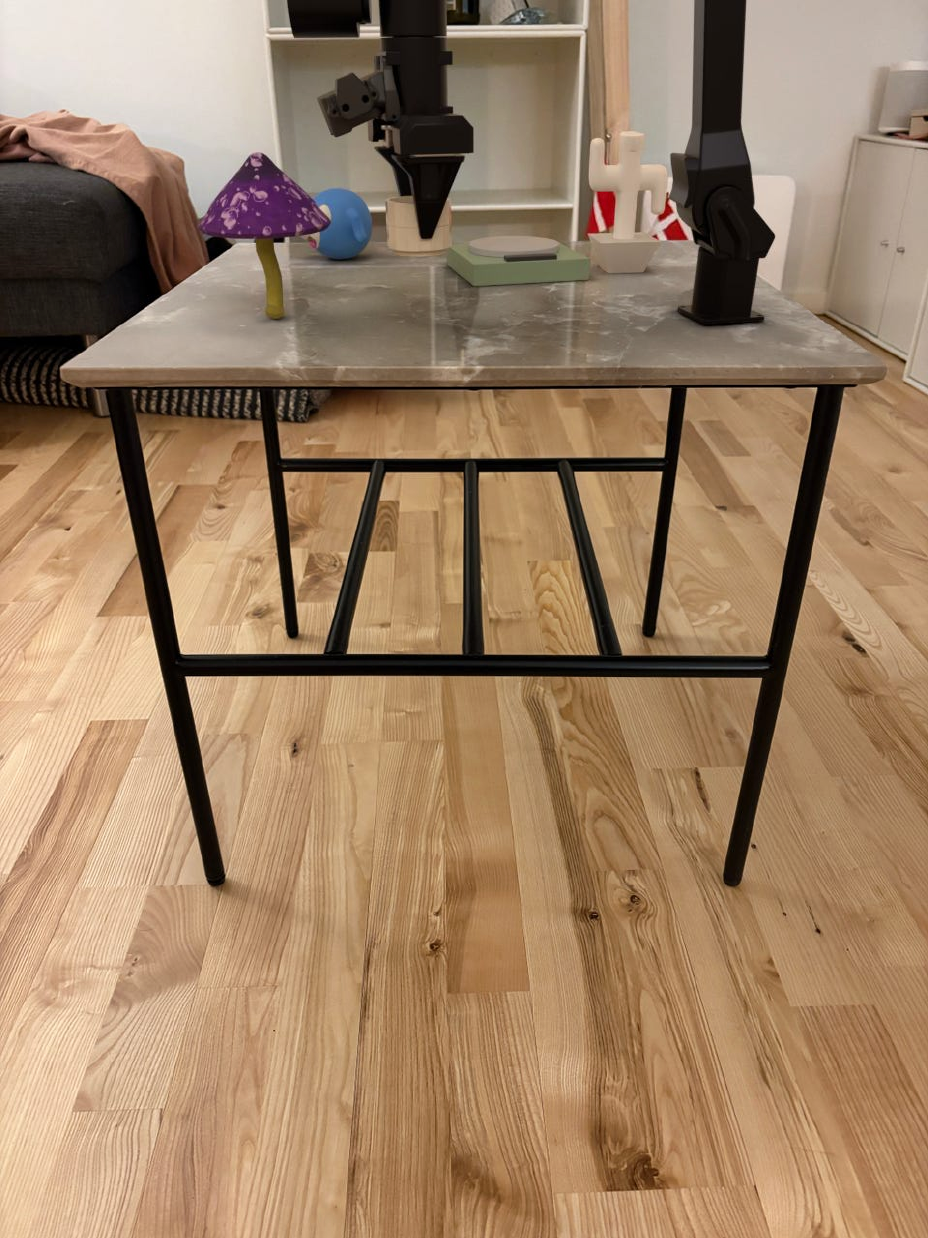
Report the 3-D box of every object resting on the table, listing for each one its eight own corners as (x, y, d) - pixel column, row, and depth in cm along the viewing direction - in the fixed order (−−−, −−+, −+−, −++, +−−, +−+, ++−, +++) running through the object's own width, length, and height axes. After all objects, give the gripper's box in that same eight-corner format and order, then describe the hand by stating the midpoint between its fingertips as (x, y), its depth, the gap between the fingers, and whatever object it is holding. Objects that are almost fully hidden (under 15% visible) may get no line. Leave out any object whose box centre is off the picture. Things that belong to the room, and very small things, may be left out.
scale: (589, 279, 108) (591, 250, 106) (473, 286, 105) (473, 256, 103) (551, 259, 120) (552, 232, 118) (446, 264, 117) (446, 237, 115)
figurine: (667, 273, 111) (681, 132, 103) (590, 276, 110) (598, 134, 102) (650, 262, 117) (662, 129, 109) (577, 264, 116) (584, 130, 108)
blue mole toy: (266, 260, 120) (258, 189, 116) (341, 249, 127) (336, 182, 123) (317, 272, 113) (311, 197, 108) (394, 260, 119) (391, 189, 115)
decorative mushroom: (204, 311, 95) (180, 149, 88) (322, 300, 99) (309, 144, 91) (221, 339, 85) (195, 159, 78) (352, 327, 89) (340, 154, 81)
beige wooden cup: (457, 255, 86) (457, 201, 83) (394, 258, 84) (391, 204, 82) (443, 245, 91) (442, 194, 88) (383, 248, 89) (380, 196, 87)
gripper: (308, 40, 85) (323, 222, 93) (332, 34, 69) (347, 254, 77) (426, 40, 87) (431, 218, 95) (475, 34, 71) (475, 248, 80)
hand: (419, 233), depth 87 cm, fingers closed on beige wooden cup, 6 cm apart
